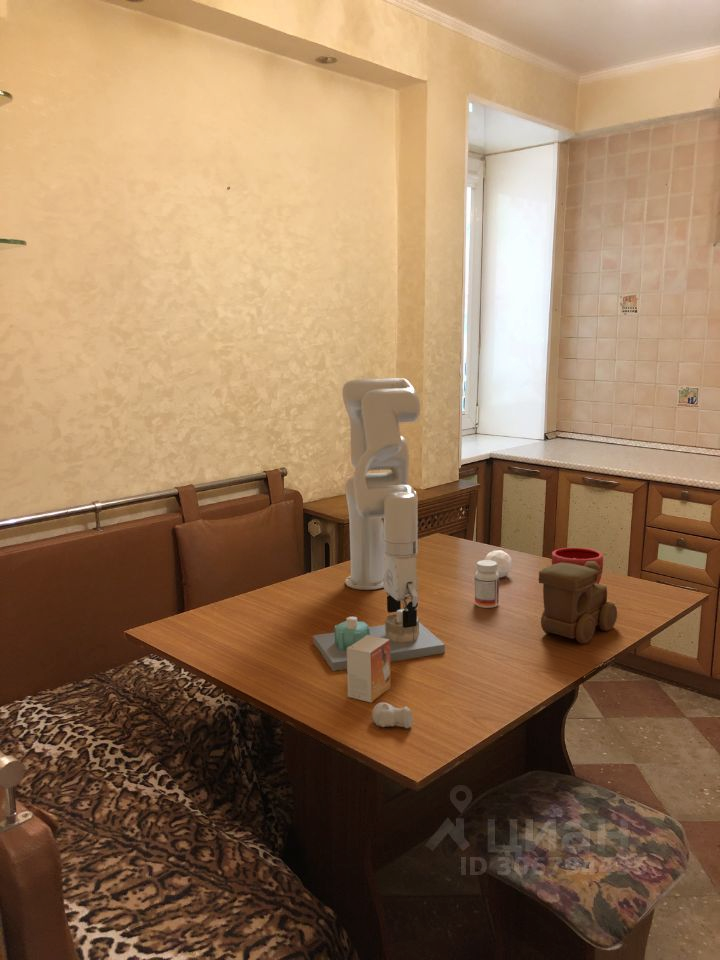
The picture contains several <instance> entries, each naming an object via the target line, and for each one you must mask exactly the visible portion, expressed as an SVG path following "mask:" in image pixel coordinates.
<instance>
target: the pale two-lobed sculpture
mask: <svg viewBox="0 0 720 960" xmlns="http://www.w3.org/2000/svg"><path fill="white" fill-rule="evenodd" d="M371 716H372V721H373V723H375V725H376V726H377V727H382V728H385V727H395V726H396V725H402V726H404V728H405V729H409V728H411V727H413V724H414V723H413V722H414V716H413V712H412V709H410V708H409V707H408V706H404V707H402V708H397V707H395V706H394V705H392V704H390V703H387V702H384V701H383V702H378V703H377V704H376V705H374V707H373V708H372V711H371Z"/></svg>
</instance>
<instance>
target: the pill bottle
mask: <svg viewBox="0 0 720 960" xmlns="http://www.w3.org/2000/svg"><path fill="white" fill-rule="evenodd" d="M476 570H477V571H476V572H475V575H474V604H475V605H476V606H477V607H480V608H483V609H490V608H491V609H492V608H496V607H497V606H499V604H500V603H499V599H500V596H499V595H500V590H499V589H500V577H499V574H498V573H497V572H496V571H497V563H496V562H495V561H491V560H483V559H482V560H479V561H477V563H476Z"/></svg>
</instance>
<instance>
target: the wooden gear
mask: <svg viewBox="0 0 720 960" xmlns="http://www.w3.org/2000/svg"><path fill="white" fill-rule="evenodd" d="M384 622H385V623H384V625H385V637H386V639H389V640H392V641H395V642H398V643H403V642H409V641H415V640H417V638H418V634H419V622H420V617H418V616H417V625H416V626H414V627H408V628H404V627H403V623H398V622H397V613H396V614H389V615H387V616H386V619H385V621H384Z"/></svg>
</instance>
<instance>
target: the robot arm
mask: <svg viewBox="0 0 720 960" xmlns="http://www.w3.org/2000/svg"><path fill="white" fill-rule="evenodd" d="M342 401H343V404H344V407H345V410H346V412H347V415H348V418H349V423H350V461H351V465H352V467H353V468H354V472H353V475H352V476H350V477H349V478H348V479H347V480H346V481H345V486H344V489H345V498H346V501H347V508H348V509H347V510H348V520H349V541H350V542H349V550H350V551H349V552H350V553H349V555H350V575H348V576H347V577H346V579H345V585H346V586H347V587H349V588H352V589H354V590H355V589H356V590H360V591H361V590H363V591H364V590H365V591H369V590H370V591H371V590H381V589H382V588H383V590H384V591H385V593H386V611H387V613H391V614H392V613H397V610H400V609H402V608H401V606H403V627H404V628H408V627H414V626H416V625H417V617H418V611H417V610H418V605H419V603H418V602H419V595H418V571H417V559H416V556H417V555H418V553H419V551H418V550H419V549H418V546H419V545H418V543H419V541H418V535H419V534H418V503H419V500H418V493H417V491H416V490H415V489H414V487H413V486H411V485H410V483H409V481H410V480H409V479H410V478H409V477H410V451H409V445H408V441H407V440H406V439H405V437H403V436H402V435H401V433H402V432H401V430H400V423H413V422H416V421H417V420H418V419H419V418H420V414H421V401H420V397H419V395H418V392H417V390H416V389H415V388H414V386H413V385H412V384H411V383H410V381H408V380H407V379H406V378H403V377H389V378H388V377H387V378H385V377H384V378H359V379H358V378H357V379H351V380H348V381H346V382H345V383H344V385H343V387H342ZM387 470H390V472H369V473H368V471H387ZM407 601H408V602H407ZM401 603H402V605H401Z"/></svg>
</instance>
